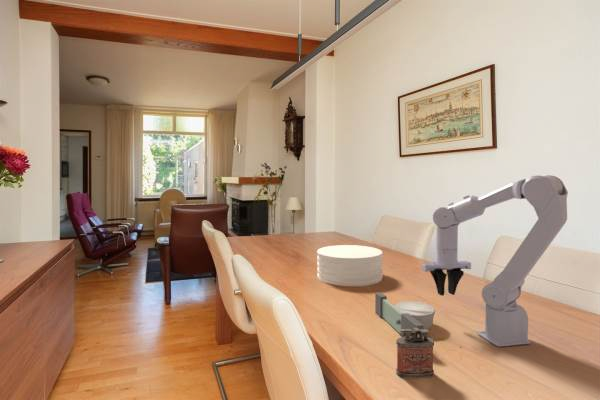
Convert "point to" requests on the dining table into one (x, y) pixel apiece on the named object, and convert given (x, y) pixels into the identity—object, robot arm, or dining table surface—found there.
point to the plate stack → (349, 265)
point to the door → (391, 314)
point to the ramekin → (418, 312)
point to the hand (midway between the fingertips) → (446, 294)
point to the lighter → (414, 354)
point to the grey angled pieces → (406, 318)
